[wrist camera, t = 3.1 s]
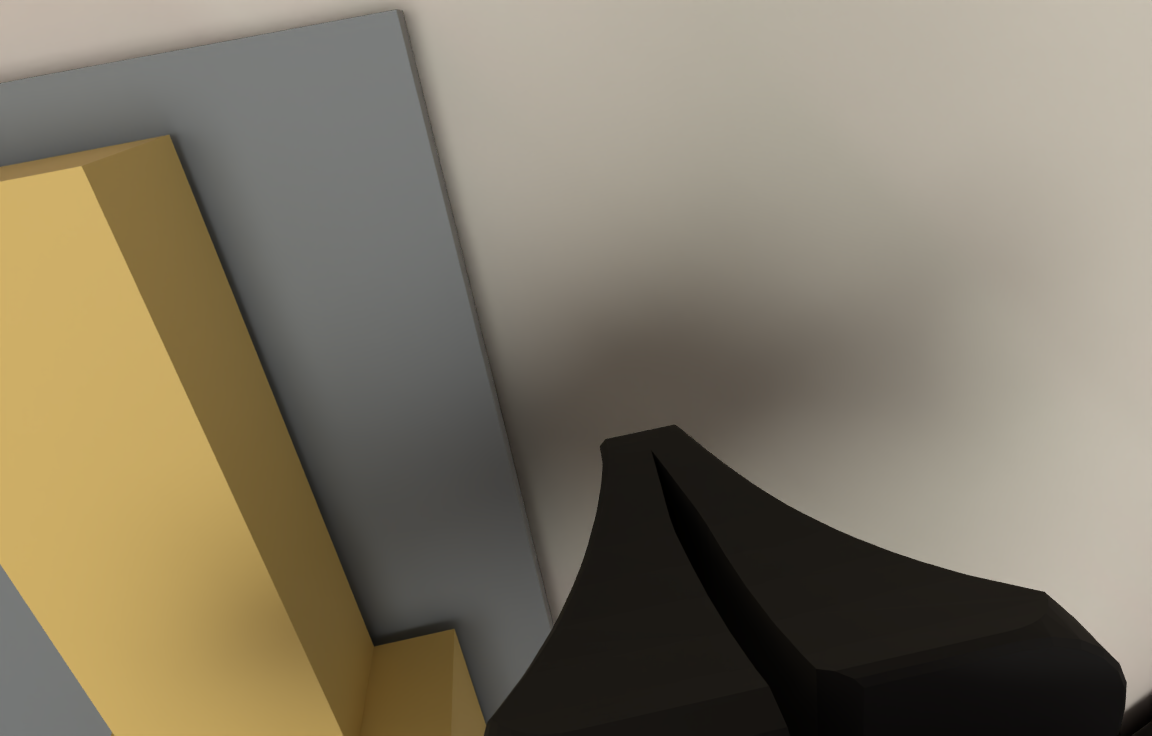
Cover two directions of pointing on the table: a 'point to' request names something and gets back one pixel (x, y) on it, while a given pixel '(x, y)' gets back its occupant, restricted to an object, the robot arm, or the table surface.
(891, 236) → the table surface
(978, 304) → the table surface
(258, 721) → the link
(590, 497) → the table surface
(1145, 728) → the desk fan
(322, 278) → the base
